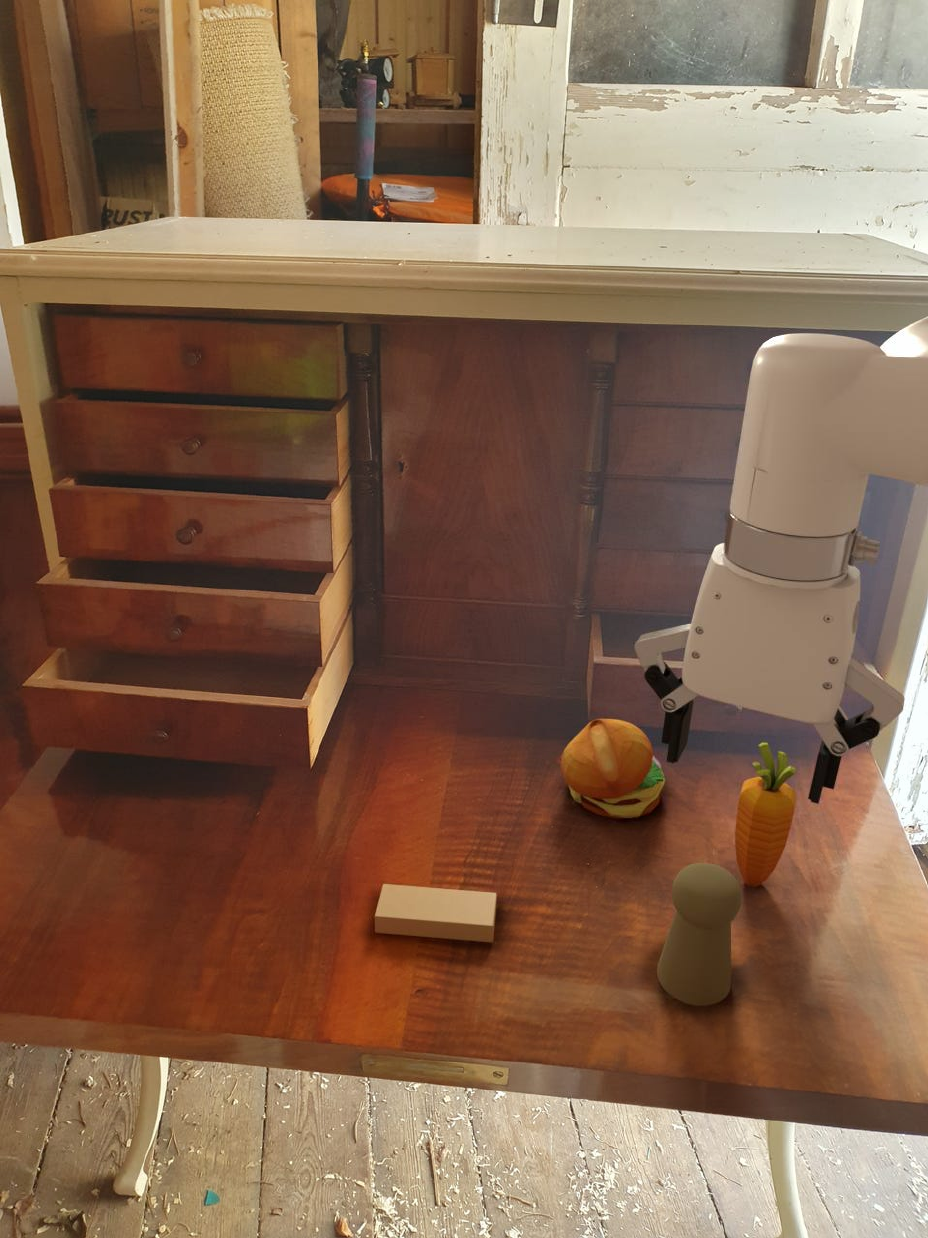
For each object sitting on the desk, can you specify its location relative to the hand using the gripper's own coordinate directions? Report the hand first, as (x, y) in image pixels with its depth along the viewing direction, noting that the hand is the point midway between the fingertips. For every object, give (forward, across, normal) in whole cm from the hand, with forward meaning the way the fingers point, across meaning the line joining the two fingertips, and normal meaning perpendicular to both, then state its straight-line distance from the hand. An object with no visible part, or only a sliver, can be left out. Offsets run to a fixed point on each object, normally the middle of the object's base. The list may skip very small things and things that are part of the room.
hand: (744, 772), depth 67 cm
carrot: (+22, -1, -14) cm, 26 cm away
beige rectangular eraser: (+22, +22, +3) cm, 32 cm away
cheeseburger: (+22, +15, -21) cm, 34 cm away
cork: (+22, +1, -1) cm, 22 cm away
